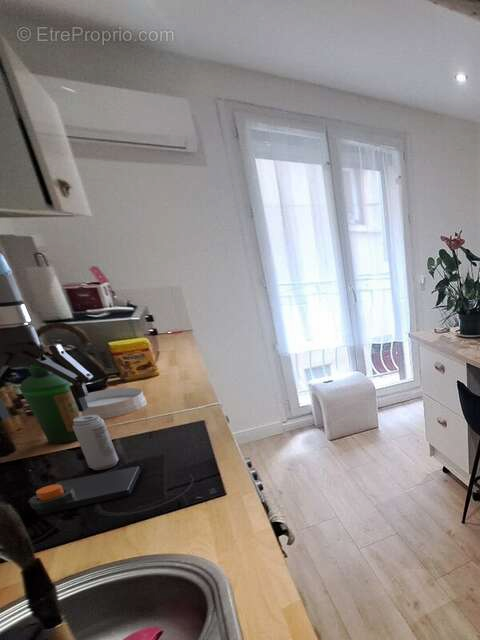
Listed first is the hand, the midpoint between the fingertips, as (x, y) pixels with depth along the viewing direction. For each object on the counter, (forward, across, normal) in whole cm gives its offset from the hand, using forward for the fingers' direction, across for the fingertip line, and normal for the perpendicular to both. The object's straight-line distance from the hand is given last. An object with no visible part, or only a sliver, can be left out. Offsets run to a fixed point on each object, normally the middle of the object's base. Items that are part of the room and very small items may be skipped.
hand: (45, 414), depth 97 cm
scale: (+22, -3, +2) cm, 22 cm away
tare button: (+18, +2, +7) cm, 20 cm away
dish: (+22, +15, -69) cm, 74 cm away
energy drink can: (+22, -1, -14) cm, 26 cm away
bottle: (+22, +16, -42) cm, 50 cm away
